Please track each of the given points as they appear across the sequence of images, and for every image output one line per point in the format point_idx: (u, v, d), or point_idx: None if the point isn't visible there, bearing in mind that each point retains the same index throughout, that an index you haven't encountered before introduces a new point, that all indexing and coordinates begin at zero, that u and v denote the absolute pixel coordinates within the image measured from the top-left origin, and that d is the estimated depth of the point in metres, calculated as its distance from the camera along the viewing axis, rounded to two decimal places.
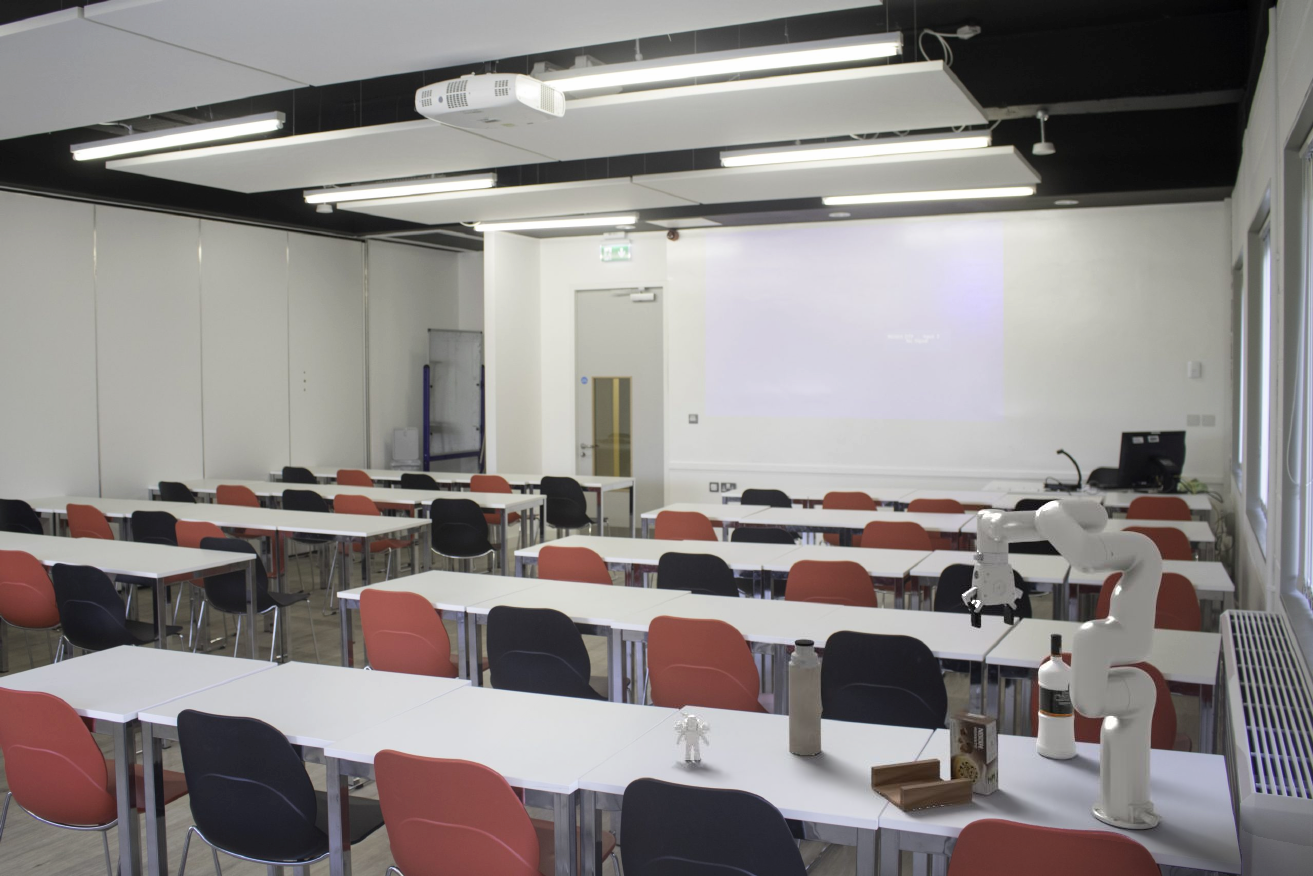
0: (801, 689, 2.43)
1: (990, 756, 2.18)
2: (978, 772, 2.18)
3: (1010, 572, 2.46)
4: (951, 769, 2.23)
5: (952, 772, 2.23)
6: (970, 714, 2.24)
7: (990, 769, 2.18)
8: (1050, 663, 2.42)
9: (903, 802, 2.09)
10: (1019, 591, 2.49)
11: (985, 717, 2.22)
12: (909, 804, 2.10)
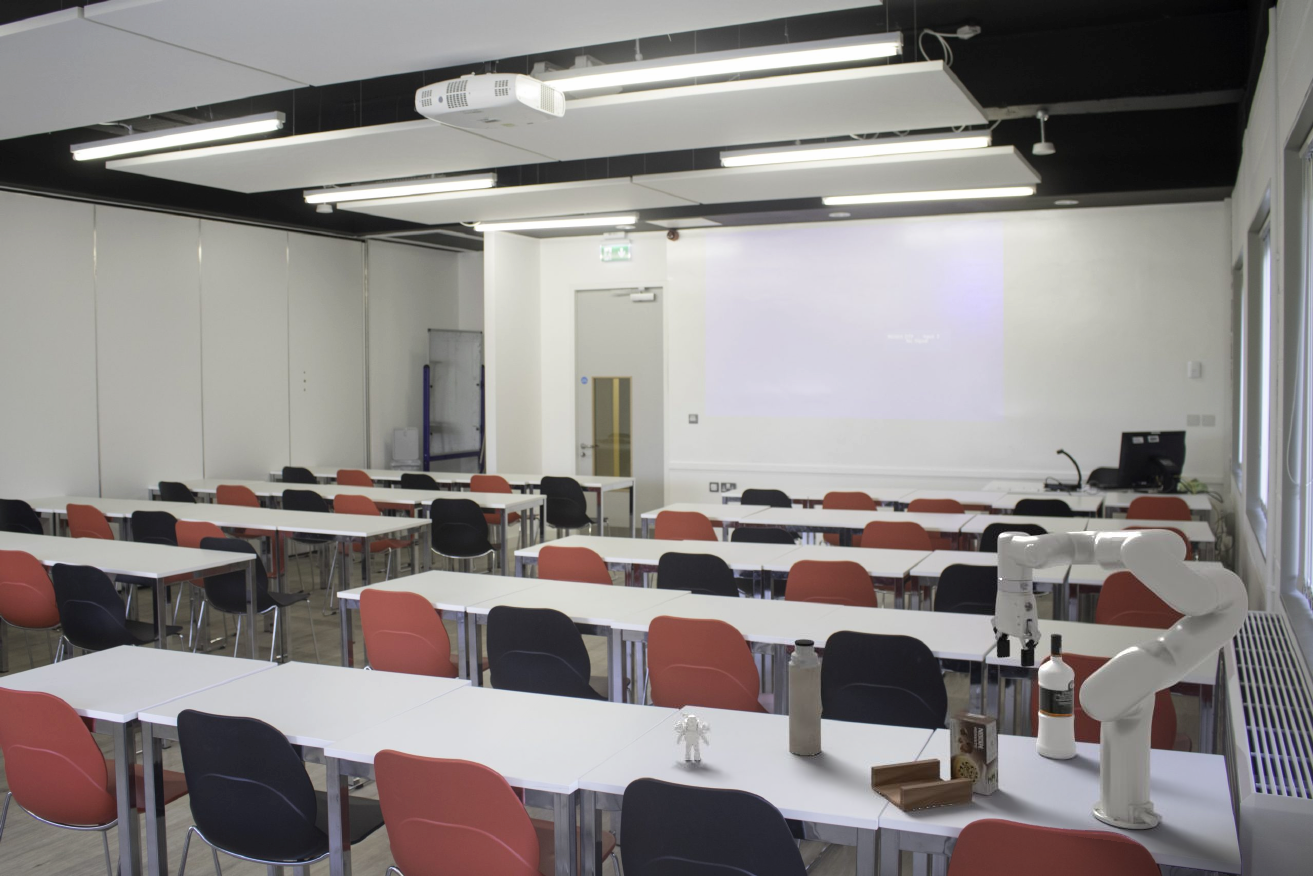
0: (801, 689, 2.43)
1: (990, 756, 2.18)
2: (978, 772, 2.18)
3: None
4: (951, 769, 2.23)
5: (952, 772, 2.23)
6: (970, 714, 2.24)
7: (990, 769, 2.18)
8: (1050, 663, 2.42)
9: (903, 802, 2.09)
10: None
11: (985, 717, 2.22)
12: (909, 804, 2.10)
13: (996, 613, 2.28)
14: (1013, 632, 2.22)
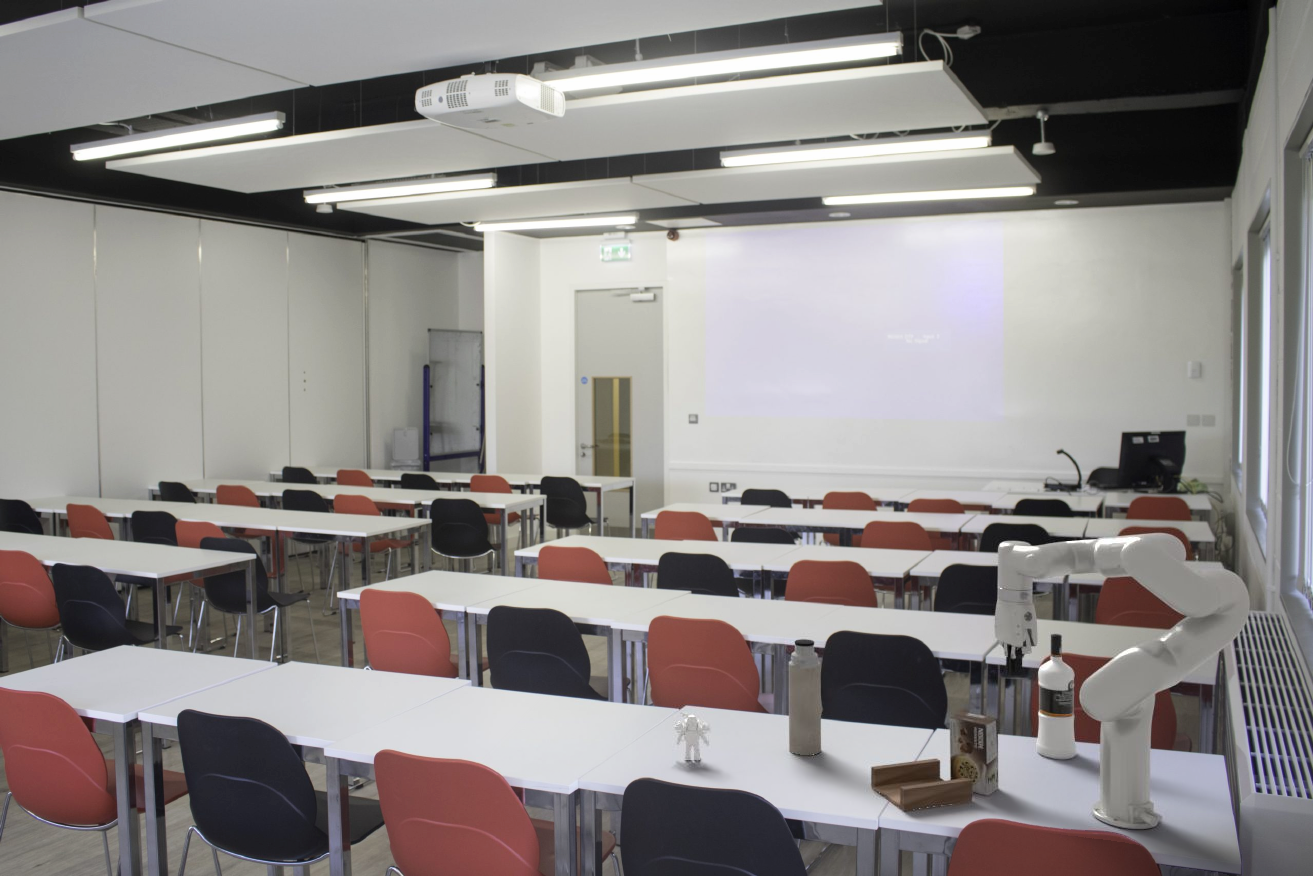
0: (801, 689, 2.43)
1: (990, 756, 2.18)
2: (978, 772, 2.18)
3: None
4: (951, 769, 2.23)
5: (952, 772, 2.23)
6: (970, 714, 2.24)
7: (990, 769, 2.18)
8: (1050, 663, 2.42)
9: (903, 802, 2.09)
10: None
11: (985, 717, 2.22)
12: (909, 804, 2.10)
13: (995, 622, 2.28)
14: (1012, 641, 2.22)
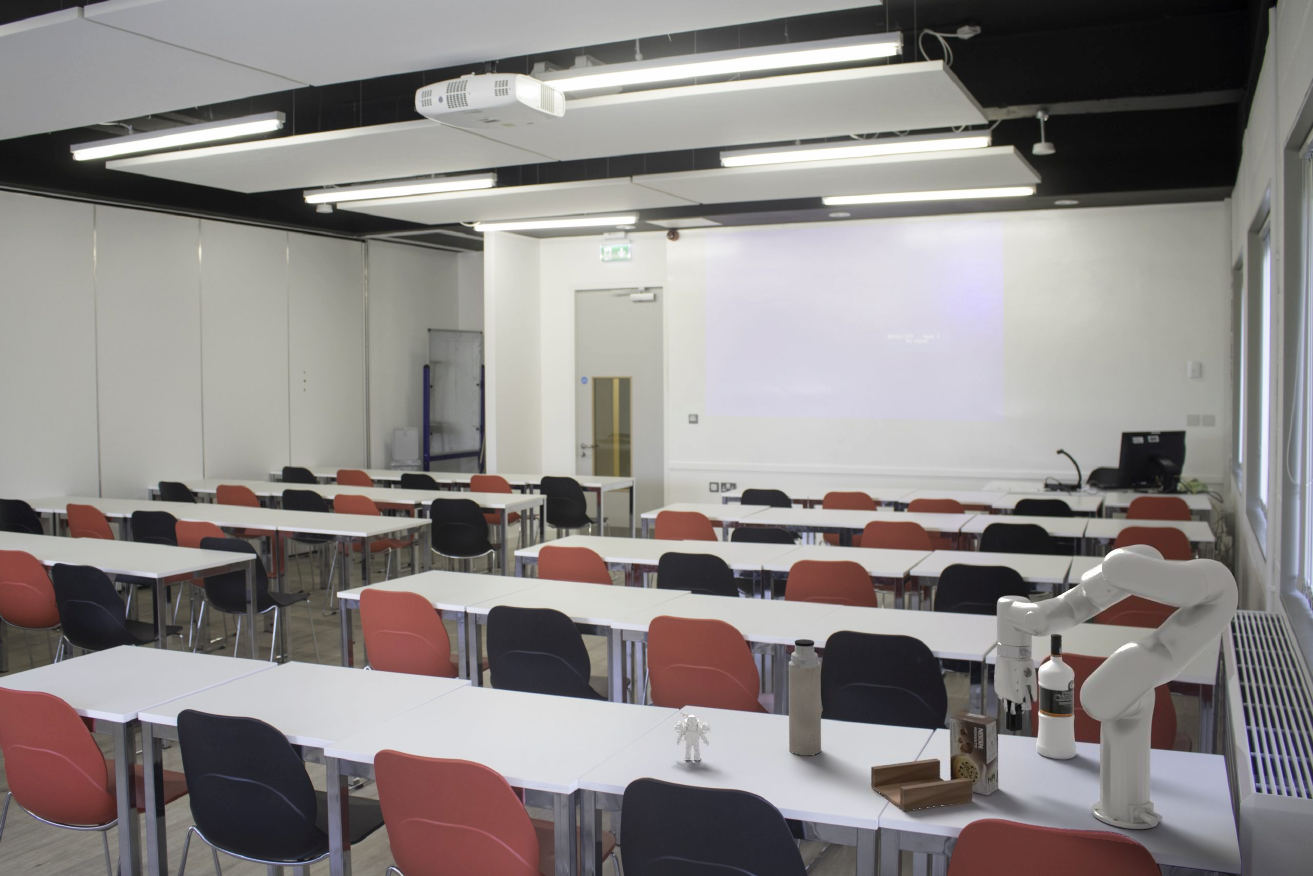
0: (801, 689, 2.43)
1: (990, 756, 2.18)
2: (978, 772, 2.18)
3: None
4: (951, 769, 2.23)
5: (952, 772, 2.23)
6: (970, 714, 2.24)
7: (990, 769, 2.18)
8: (1050, 663, 2.42)
9: (903, 802, 2.09)
10: None
11: (985, 717, 2.22)
12: (909, 804, 2.10)
13: (995, 676, 2.28)
14: (1012, 697, 2.22)
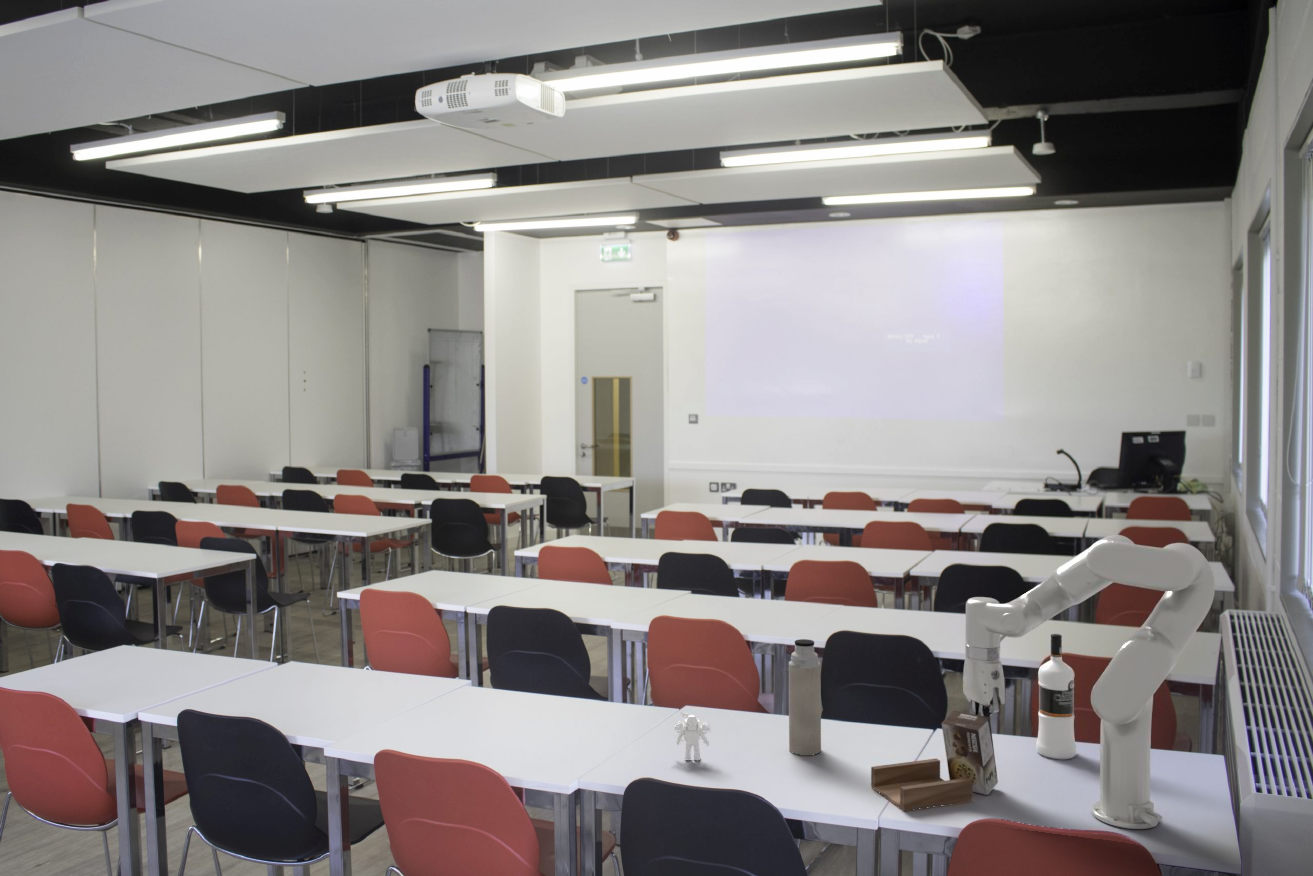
0: (801, 689, 2.43)
1: (985, 758, 2.17)
2: (976, 774, 2.18)
3: None
4: (949, 771, 2.22)
5: (951, 773, 2.22)
6: (962, 715, 2.21)
7: (987, 769, 2.17)
8: (1050, 663, 2.42)
9: (903, 802, 2.09)
10: None
11: (977, 718, 2.19)
12: (909, 804, 2.10)
13: (964, 678, 2.26)
14: (980, 700, 2.20)
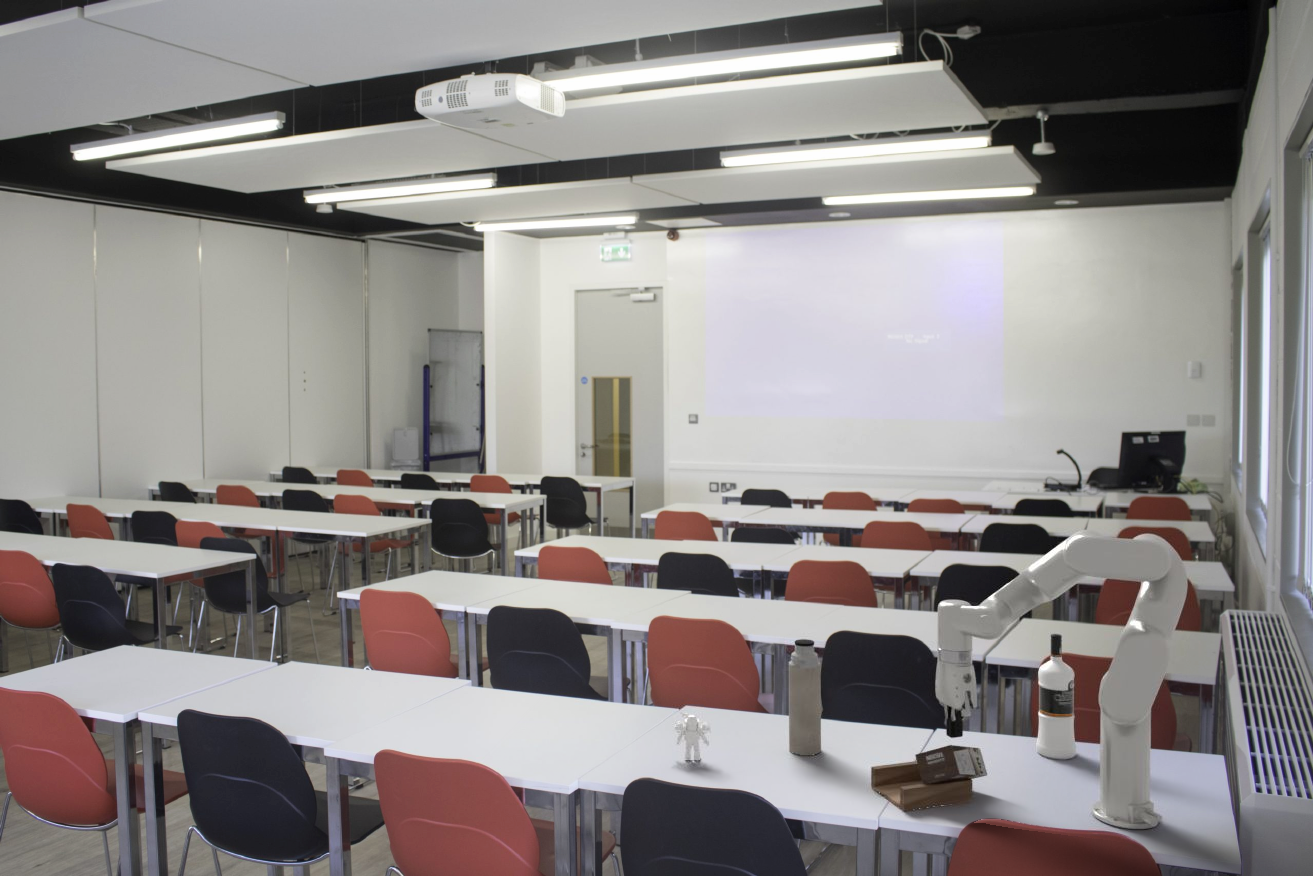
0: (801, 689, 2.43)
1: (971, 767, 2.14)
2: (971, 777, 2.17)
3: None
4: None
5: None
6: (929, 759, 2.13)
7: (976, 766, 2.16)
8: (1050, 663, 2.42)
9: (903, 802, 2.09)
10: None
11: (943, 755, 2.11)
12: (909, 804, 2.10)
13: (936, 682, 2.24)
14: (952, 703, 2.18)
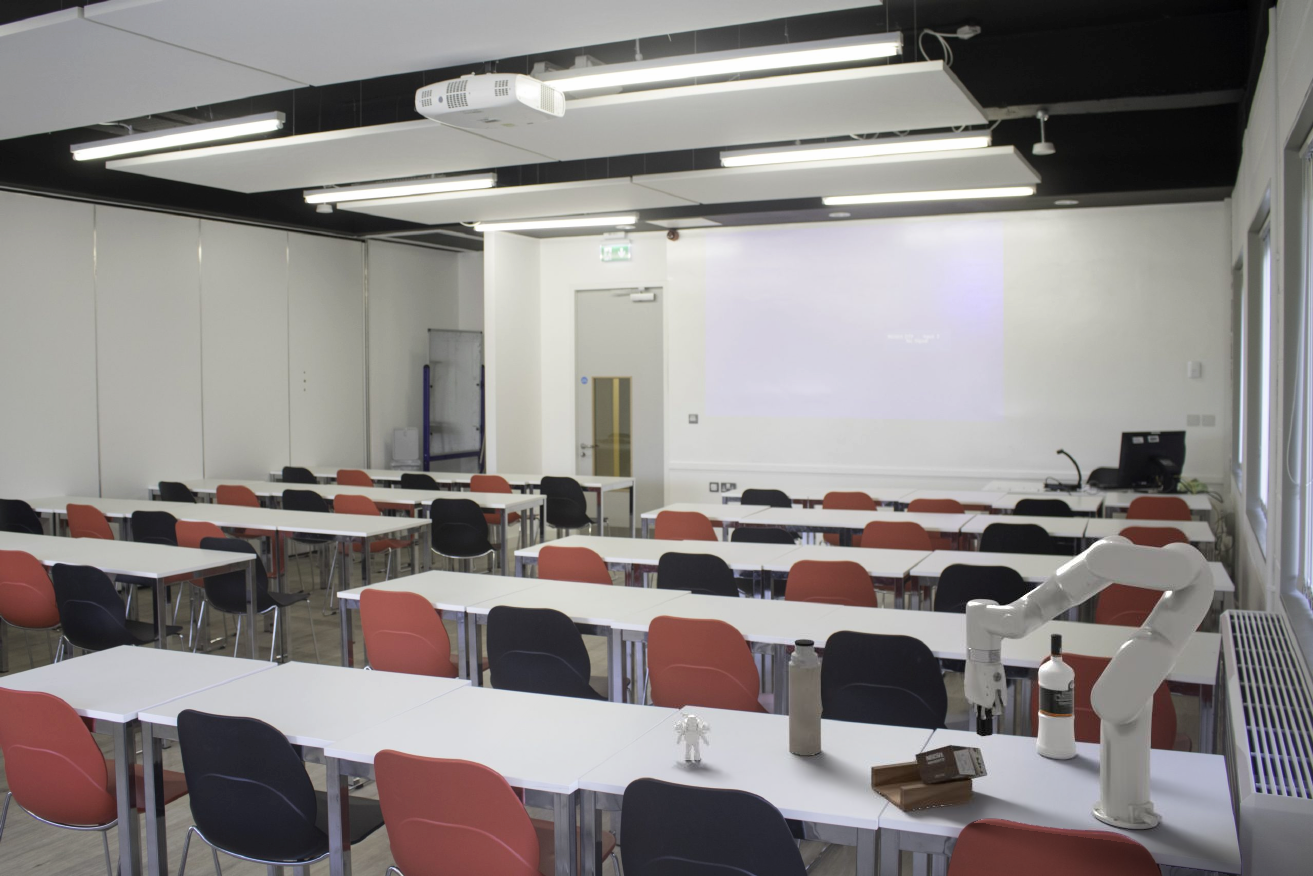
0: (801, 689, 2.43)
1: (971, 767, 2.14)
2: (971, 777, 2.17)
3: None
4: None
5: None
6: (929, 759, 2.13)
7: (976, 766, 2.16)
8: (1050, 663, 2.42)
9: (903, 802, 2.09)
10: None
11: (943, 755, 2.11)
12: (909, 804, 2.10)
13: (965, 681, 2.26)
14: (982, 702, 2.20)
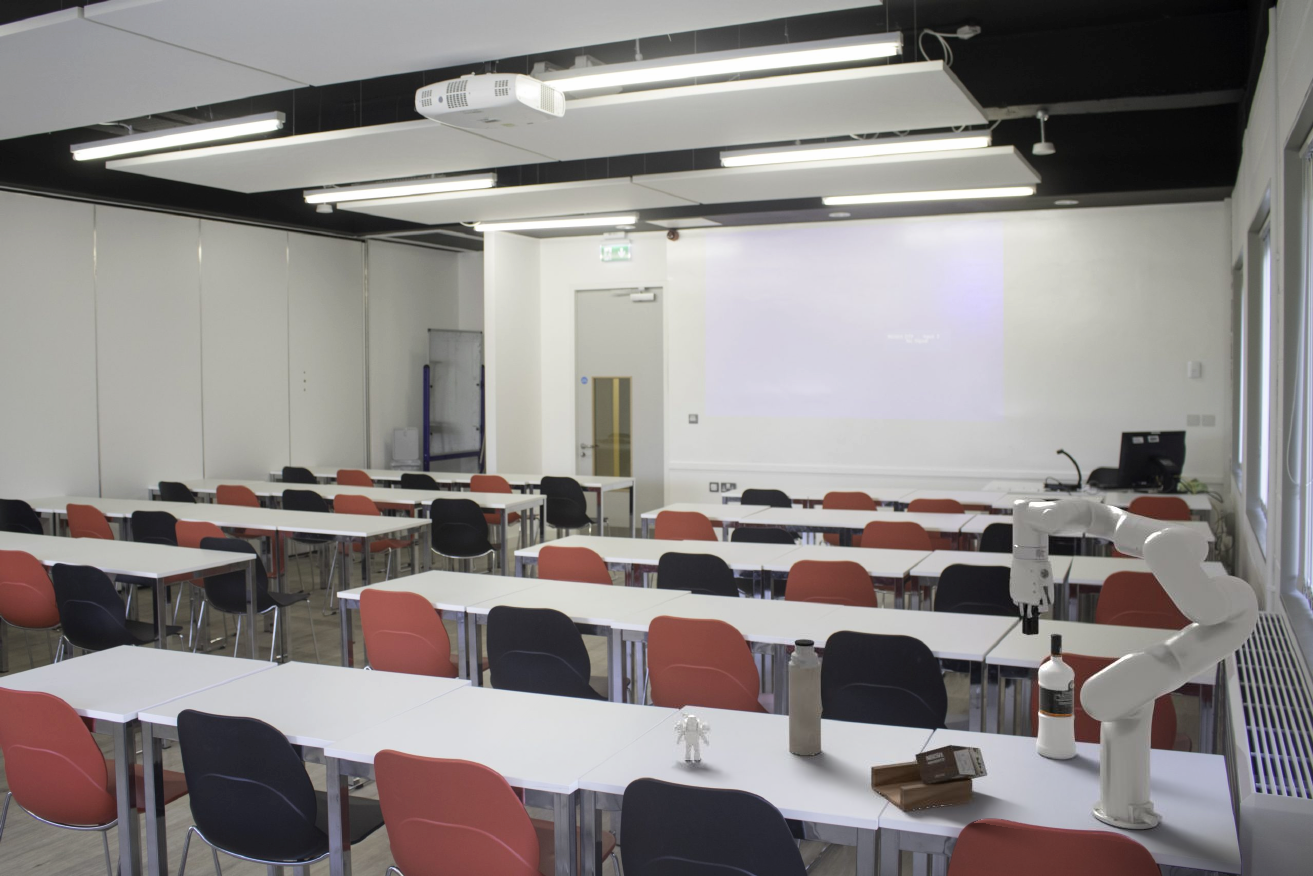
0: (801, 689, 2.43)
1: (971, 767, 2.14)
2: (971, 777, 2.17)
3: None
4: None
5: None
6: (929, 759, 2.13)
7: (976, 766, 2.16)
8: (1050, 663, 2.42)
9: (903, 802, 2.09)
10: None
11: (943, 755, 2.11)
12: (909, 804, 2.10)
13: (1011, 581, 2.24)
14: (1028, 600, 2.18)
